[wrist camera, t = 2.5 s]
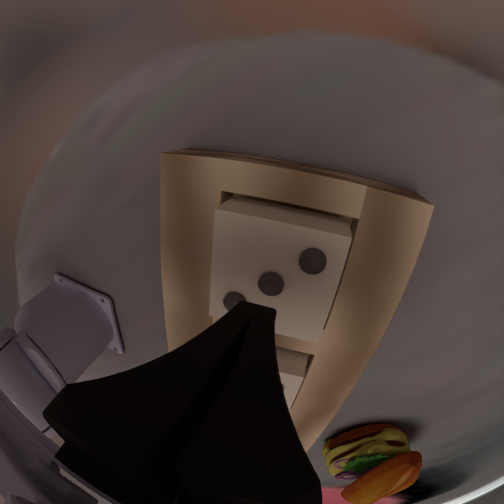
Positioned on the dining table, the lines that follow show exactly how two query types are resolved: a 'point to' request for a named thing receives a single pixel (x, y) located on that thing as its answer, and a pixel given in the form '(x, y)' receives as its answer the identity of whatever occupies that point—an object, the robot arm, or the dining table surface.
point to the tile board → (353, 275)
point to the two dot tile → (291, 371)
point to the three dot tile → (278, 263)
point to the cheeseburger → (372, 462)
